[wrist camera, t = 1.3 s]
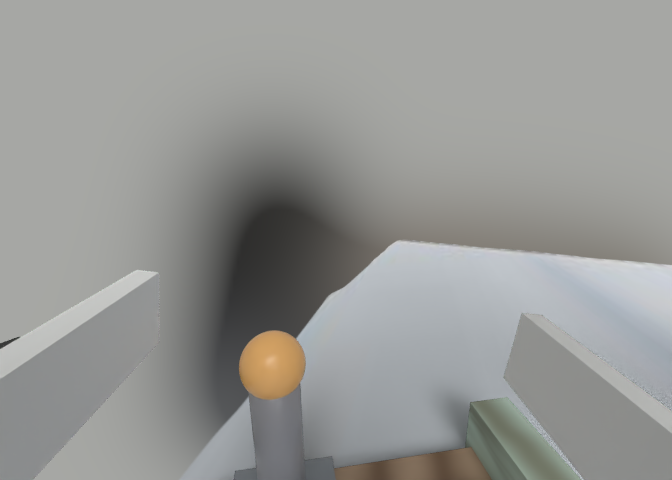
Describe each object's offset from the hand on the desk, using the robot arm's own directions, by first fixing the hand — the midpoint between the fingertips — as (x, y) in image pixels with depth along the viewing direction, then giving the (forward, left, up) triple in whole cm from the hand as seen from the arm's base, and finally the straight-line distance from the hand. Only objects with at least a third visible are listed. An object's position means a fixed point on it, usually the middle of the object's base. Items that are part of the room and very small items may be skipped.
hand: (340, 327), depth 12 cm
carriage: (+3, -7, -22) cm, 23 cm away
